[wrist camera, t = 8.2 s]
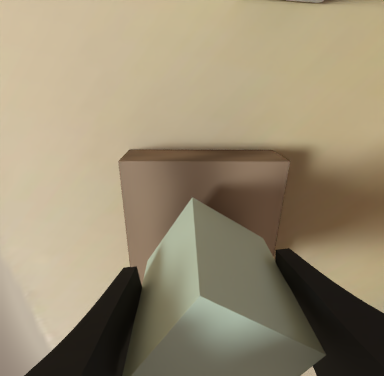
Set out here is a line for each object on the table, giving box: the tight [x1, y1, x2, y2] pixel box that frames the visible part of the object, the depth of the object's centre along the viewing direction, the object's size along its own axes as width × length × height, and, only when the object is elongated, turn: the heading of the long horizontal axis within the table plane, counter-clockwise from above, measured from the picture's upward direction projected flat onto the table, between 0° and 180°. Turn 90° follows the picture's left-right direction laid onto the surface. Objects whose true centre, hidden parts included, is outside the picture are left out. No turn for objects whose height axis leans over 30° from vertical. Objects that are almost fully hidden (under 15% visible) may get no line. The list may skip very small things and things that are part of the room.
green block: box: [122, 197, 326, 376], centre depth 10 cm, size 4×4×6 cm
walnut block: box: [118, 150, 290, 285], centre depth 15 cm, size 9×9×3 cm
